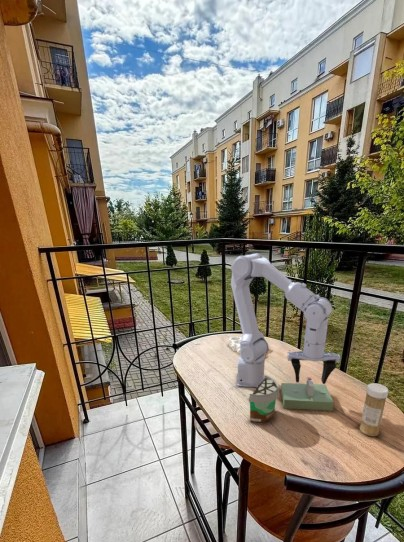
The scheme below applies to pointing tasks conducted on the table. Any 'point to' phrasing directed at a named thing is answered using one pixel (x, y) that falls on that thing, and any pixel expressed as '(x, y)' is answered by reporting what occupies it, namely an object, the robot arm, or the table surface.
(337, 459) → the table surface
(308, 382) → the tap handle
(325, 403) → the plate
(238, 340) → the cream bumpy slab
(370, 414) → the sprinkles bottle
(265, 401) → the food container
